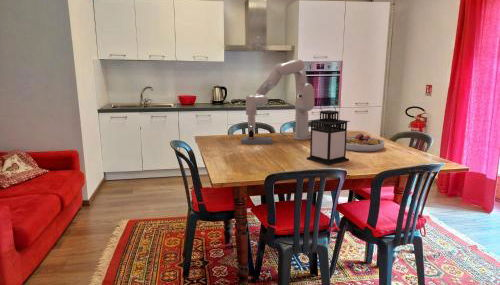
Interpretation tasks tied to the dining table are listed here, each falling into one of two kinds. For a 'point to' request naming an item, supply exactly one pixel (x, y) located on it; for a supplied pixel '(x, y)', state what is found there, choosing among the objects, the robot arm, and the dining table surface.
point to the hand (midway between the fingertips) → (251, 136)
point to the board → (256, 140)
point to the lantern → (328, 139)
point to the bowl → (363, 143)
